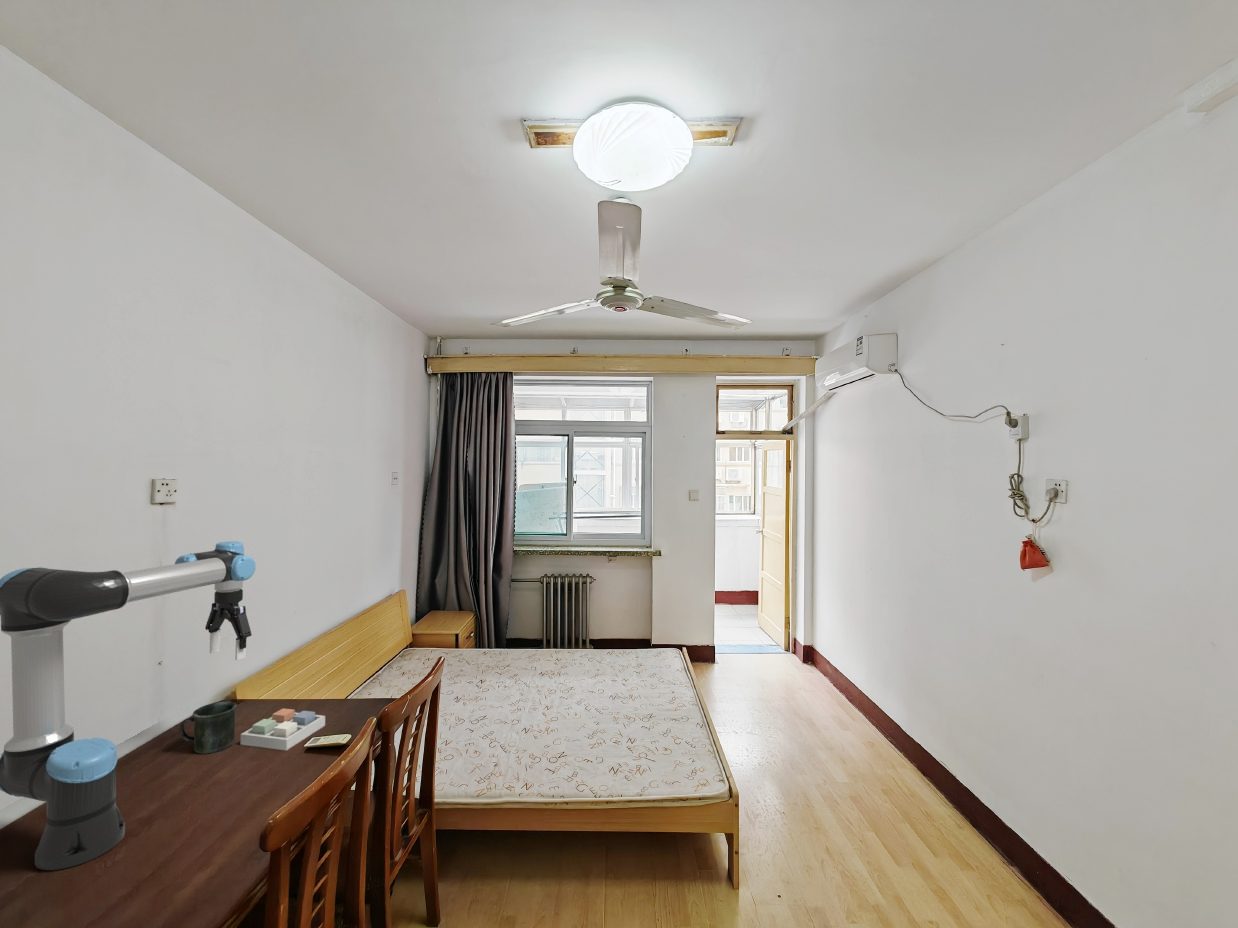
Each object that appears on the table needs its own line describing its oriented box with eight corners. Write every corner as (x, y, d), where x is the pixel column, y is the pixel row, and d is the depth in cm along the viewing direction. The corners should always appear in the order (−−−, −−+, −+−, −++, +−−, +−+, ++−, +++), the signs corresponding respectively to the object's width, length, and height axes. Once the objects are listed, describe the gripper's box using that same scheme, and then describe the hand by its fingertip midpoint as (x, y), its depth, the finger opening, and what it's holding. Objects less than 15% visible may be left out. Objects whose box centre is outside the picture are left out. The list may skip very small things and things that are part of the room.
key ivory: (286, 738, 176) (286, 729, 176) (273, 737, 177) (273, 727, 177) (297, 731, 181) (297, 722, 181) (284, 730, 181) (284, 721, 181)
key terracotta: (284, 724, 185) (284, 715, 185) (272, 723, 186) (272, 714, 186) (294, 718, 190) (294, 709, 190) (282, 717, 191) (283, 708, 191)
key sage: (264, 736, 178) (264, 726, 178) (252, 734, 178) (252, 724, 178) (275, 729, 182) (276, 719, 182) (263, 727, 183) (264, 718, 183)
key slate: (304, 727, 184) (304, 717, 184) (292, 725, 185) (292, 716, 185) (314, 720, 188) (315, 711, 188) (303, 719, 189) (303, 710, 189)
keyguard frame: (286, 750, 174) (286, 739, 174) (240, 744, 177) (240, 733, 177) (325, 725, 190) (325, 715, 190) (282, 720, 193) (282, 710, 193)
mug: (232, 750, 173) (232, 712, 173) (174, 760, 167) (174, 720, 167) (239, 735, 183) (239, 698, 183) (184, 743, 177) (185, 706, 177)
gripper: (265, 591, 177) (263, 657, 177) (218, 583, 188) (216, 646, 187) (240, 596, 170) (239, 665, 170) (193, 587, 181) (191, 652, 181)
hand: (227, 655), depth 179 cm, fingers open, 13 cm apart
